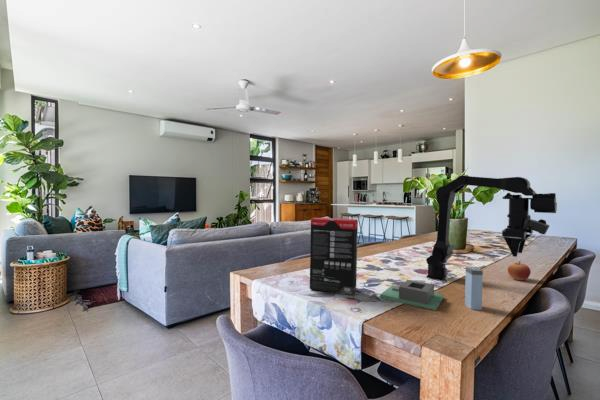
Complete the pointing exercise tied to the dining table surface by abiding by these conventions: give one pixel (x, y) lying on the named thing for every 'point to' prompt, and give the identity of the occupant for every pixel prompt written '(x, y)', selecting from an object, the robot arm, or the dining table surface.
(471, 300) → the light blue tall block
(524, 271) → the apple
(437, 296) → the header board
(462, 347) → the dining table surface
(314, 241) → the graphics card box
